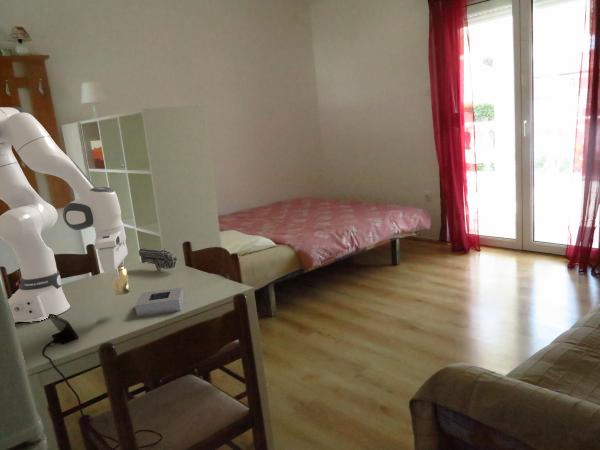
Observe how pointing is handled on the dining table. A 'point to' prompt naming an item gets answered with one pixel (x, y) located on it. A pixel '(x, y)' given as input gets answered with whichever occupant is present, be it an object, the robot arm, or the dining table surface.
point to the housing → (159, 302)
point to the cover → (121, 282)
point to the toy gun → (158, 258)
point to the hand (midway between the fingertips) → (119, 276)
